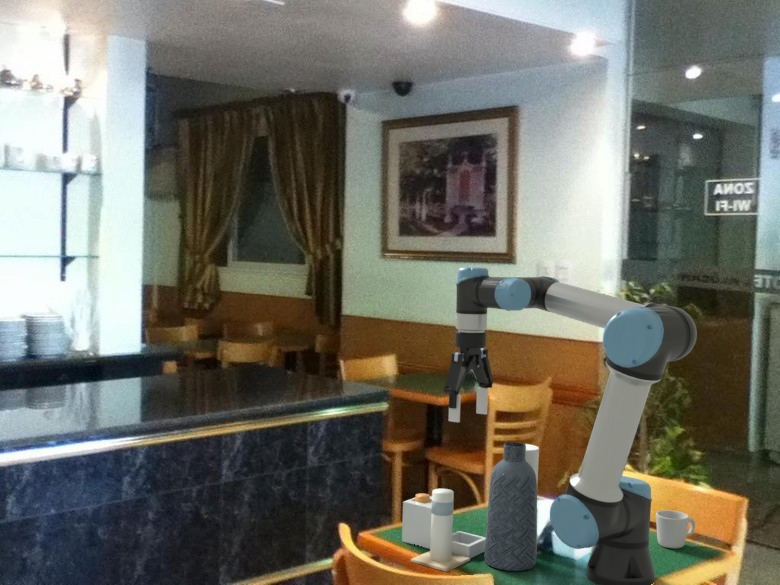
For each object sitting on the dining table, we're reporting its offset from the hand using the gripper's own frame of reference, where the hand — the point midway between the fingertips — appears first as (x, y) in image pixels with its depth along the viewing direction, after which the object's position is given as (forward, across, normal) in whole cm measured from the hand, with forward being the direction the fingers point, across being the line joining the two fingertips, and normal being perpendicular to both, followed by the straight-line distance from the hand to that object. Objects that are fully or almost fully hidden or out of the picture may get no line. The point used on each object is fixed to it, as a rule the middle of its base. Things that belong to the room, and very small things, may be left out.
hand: (468, 417), depth 232 cm
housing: (+32, +2, -5) cm, 32 cm away
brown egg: (+27, +2, -11) cm, 29 cm away
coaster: (+32, +12, 0) cm, 34 cm away
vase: (+32, +3, +14) cm, 35 cm away
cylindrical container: (+32, -9, +11) cm, 35 cm away
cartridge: (+32, +12, 0) cm, 34 cm away
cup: (+33, -36, +41) cm, 63 cm away
